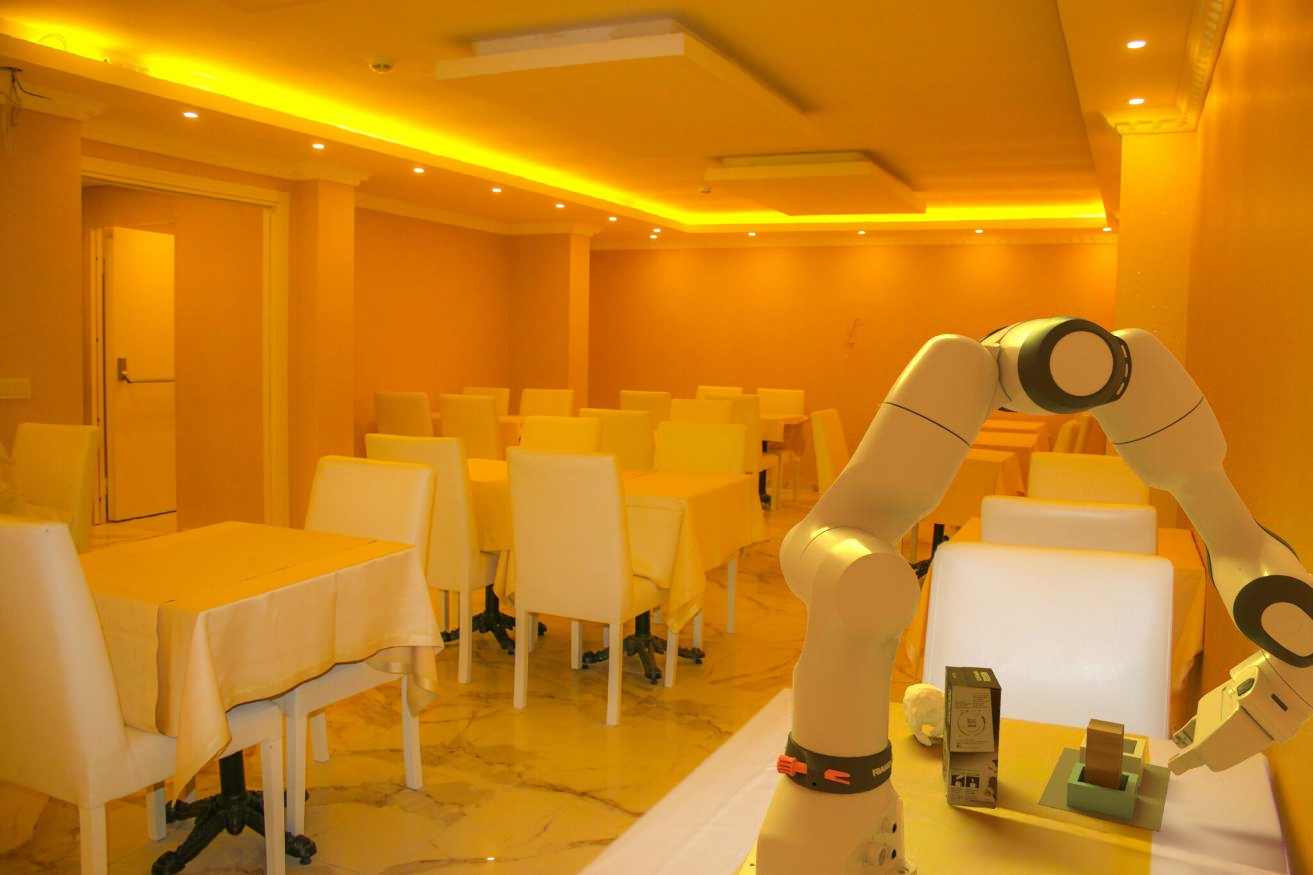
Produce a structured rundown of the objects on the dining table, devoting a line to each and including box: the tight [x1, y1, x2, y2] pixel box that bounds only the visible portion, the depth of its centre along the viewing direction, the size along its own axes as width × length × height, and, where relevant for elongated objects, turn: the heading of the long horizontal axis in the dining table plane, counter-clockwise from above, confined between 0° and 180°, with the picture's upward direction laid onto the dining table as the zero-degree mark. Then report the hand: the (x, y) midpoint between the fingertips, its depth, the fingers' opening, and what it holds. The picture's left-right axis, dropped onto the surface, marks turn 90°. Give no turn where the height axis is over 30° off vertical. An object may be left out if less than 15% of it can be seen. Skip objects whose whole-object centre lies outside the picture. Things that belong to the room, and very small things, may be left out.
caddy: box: [1037, 731, 1171, 833], centre depth 132 cm, size 22×14×5 cm, turn 149°
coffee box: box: [941, 665, 1003, 810], centre depth 131 cm, size 9×6×16 cm
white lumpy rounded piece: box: [902, 683, 945, 747], centre depth 150 cm, size 6×8×12 cm
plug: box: [1084, 718, 1125, 791], centre depth 127 cm, size 4×4×10 cm
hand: (1174, 755), depth 123 cm, fingers open, 8 cm apart
